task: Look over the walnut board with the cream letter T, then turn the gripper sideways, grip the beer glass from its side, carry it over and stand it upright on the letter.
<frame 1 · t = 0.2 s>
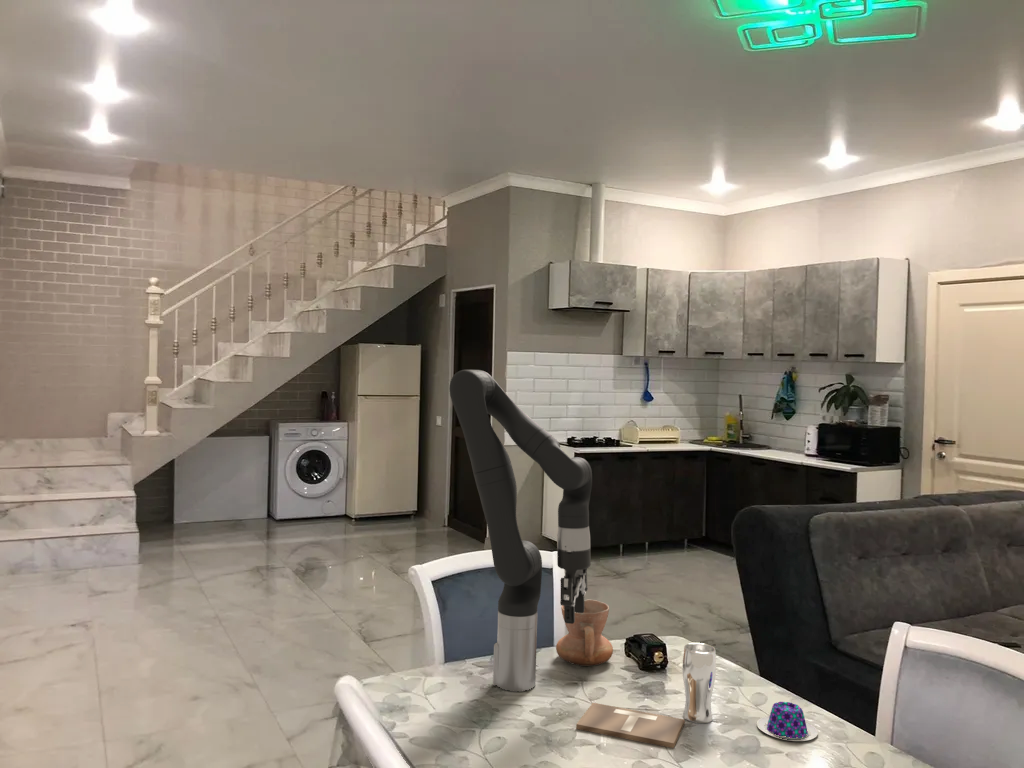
hand: (574, 617, 181), 18 cm above the table, tool pointing down, fingers open, 8 cm apart
beer glass: (697, 718, 171), on the table
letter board: (631, 726, 166), on the table
ceramic jug: (584, 662, 203), on the table
pudding: (786, 732, 166), on the table
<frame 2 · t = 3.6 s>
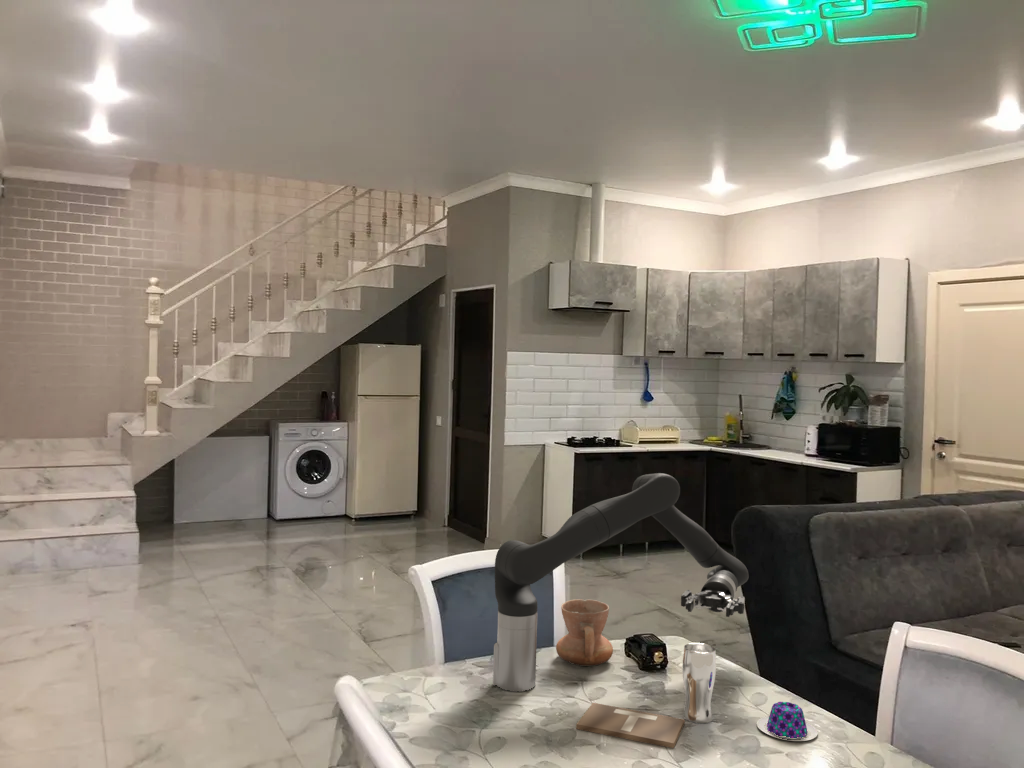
hand: (708, 610, 181), 20 cm above the table, tool horizontal, fingers open, 8 cm apart
nothing on the table moved.
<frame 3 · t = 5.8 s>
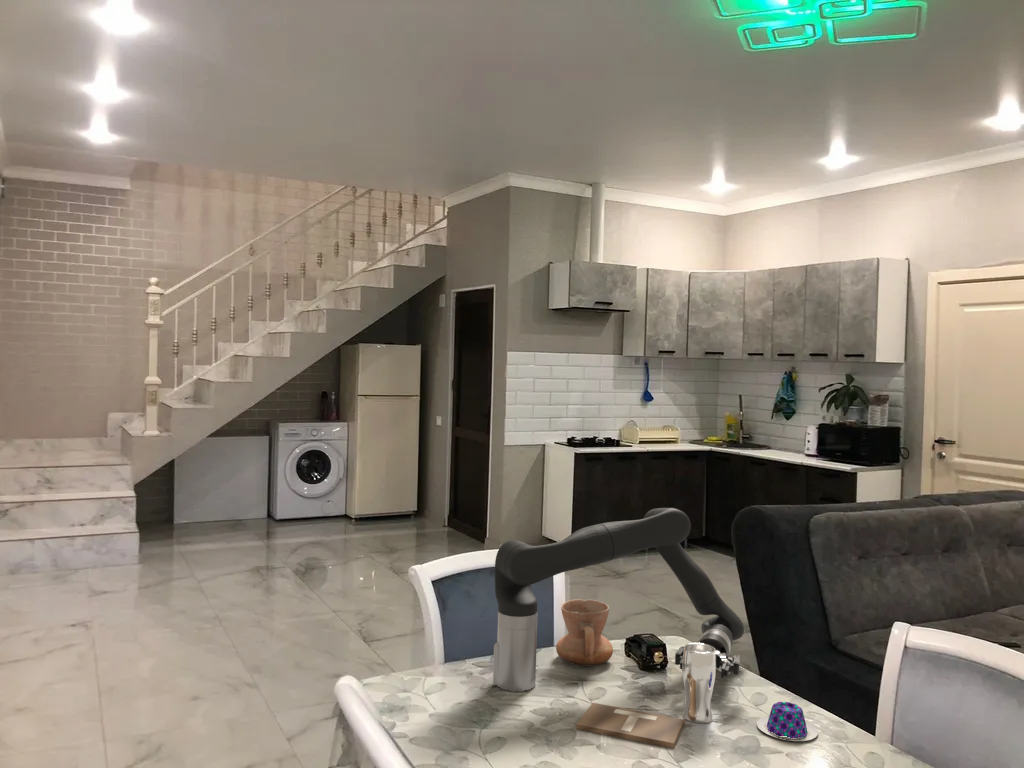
hand: (703, 670, 177), 8 cm above the table, tool horizontal, fingers open, 8 cm apart
nothing on the table moved.
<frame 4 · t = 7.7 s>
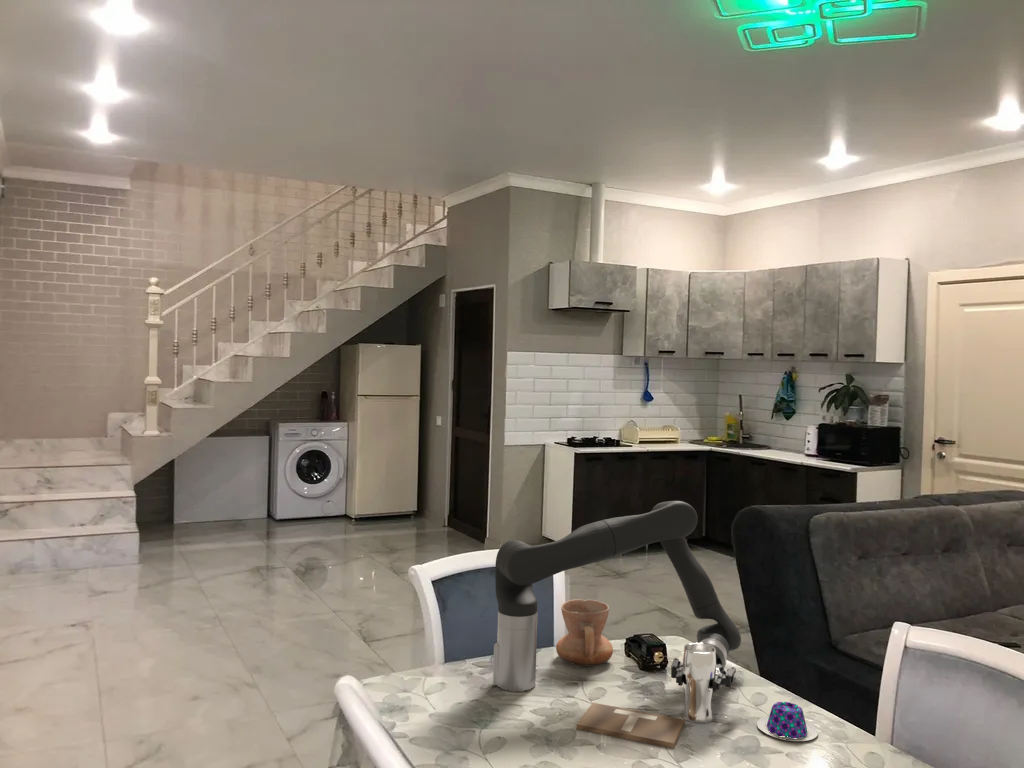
hand: (697, 684, 169), 8 cm above the table, tool horizontal, fingers closed on beer glass, 6 cm apart
beer glass: (697, 718, 171), on the table, touching gripper
everything else where it was.
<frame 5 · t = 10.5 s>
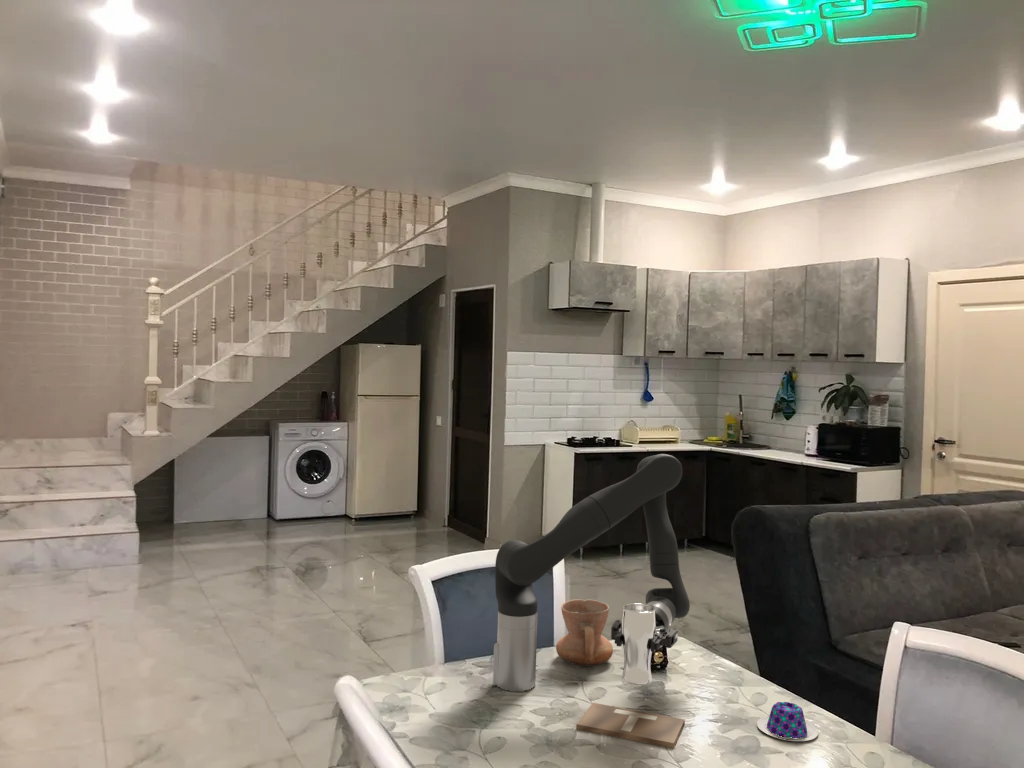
hand: (635, 644, 164), 18 cm above the table, tool horizontal, fingers closed on beer glass, 6 cm apart
beer glass: (636, 680, 166), point 9 cm above the table, touching gripper
everything else where it was.
when the fingers open (9 cm above the table, at t = 13.3 s): beer glass stays where it is, resting on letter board.
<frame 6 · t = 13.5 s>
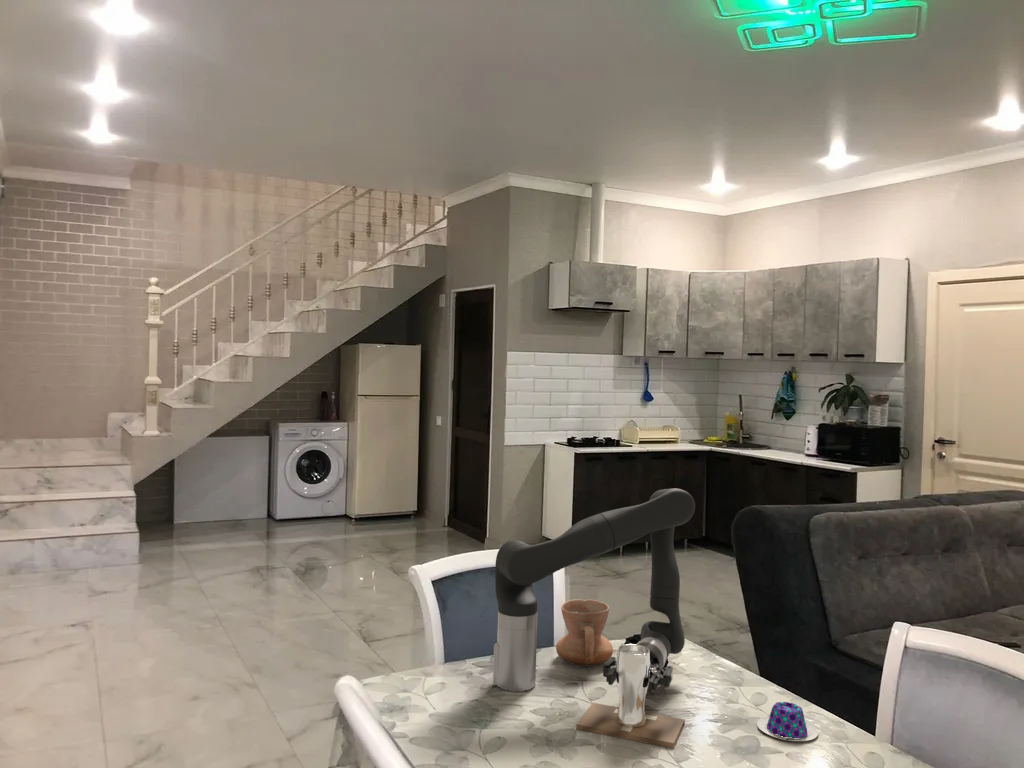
hand: (629, 683, 164), 10 cm above the table, tool horizontal, fingers open, 8 cm apart
beer glass: (631, 722, 166), point 1 cm above the table, touching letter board
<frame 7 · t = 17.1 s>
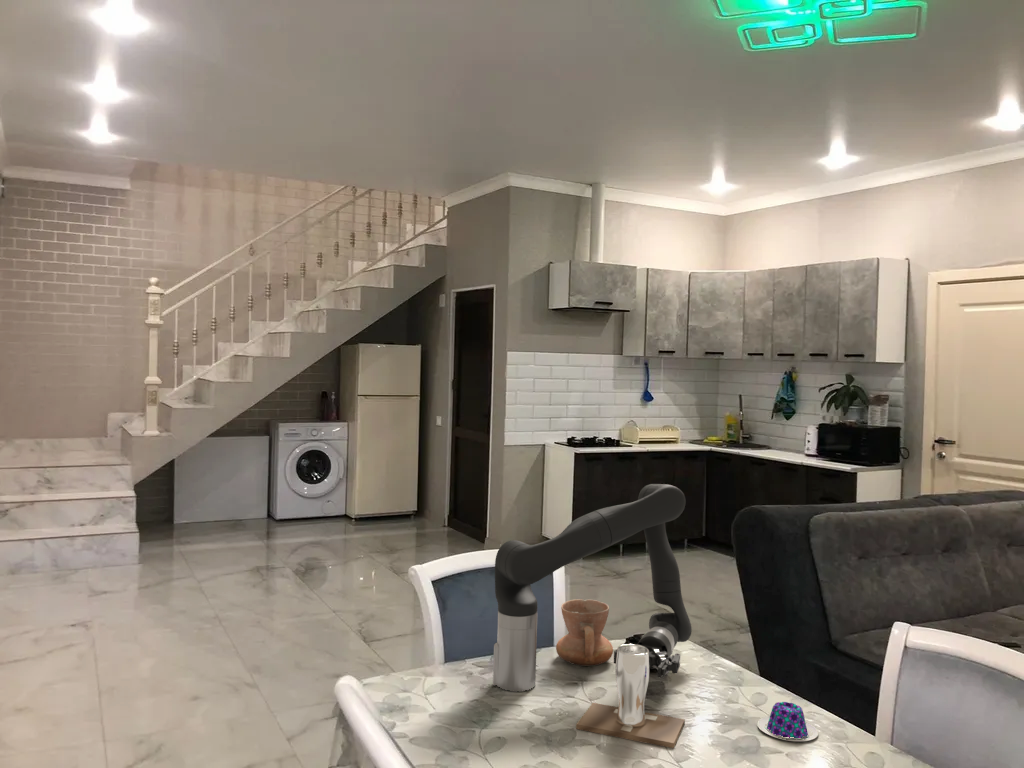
hand: (639, 669, 172), 10 cm above the table, tool horizontal, fingers open, 8 cm apart
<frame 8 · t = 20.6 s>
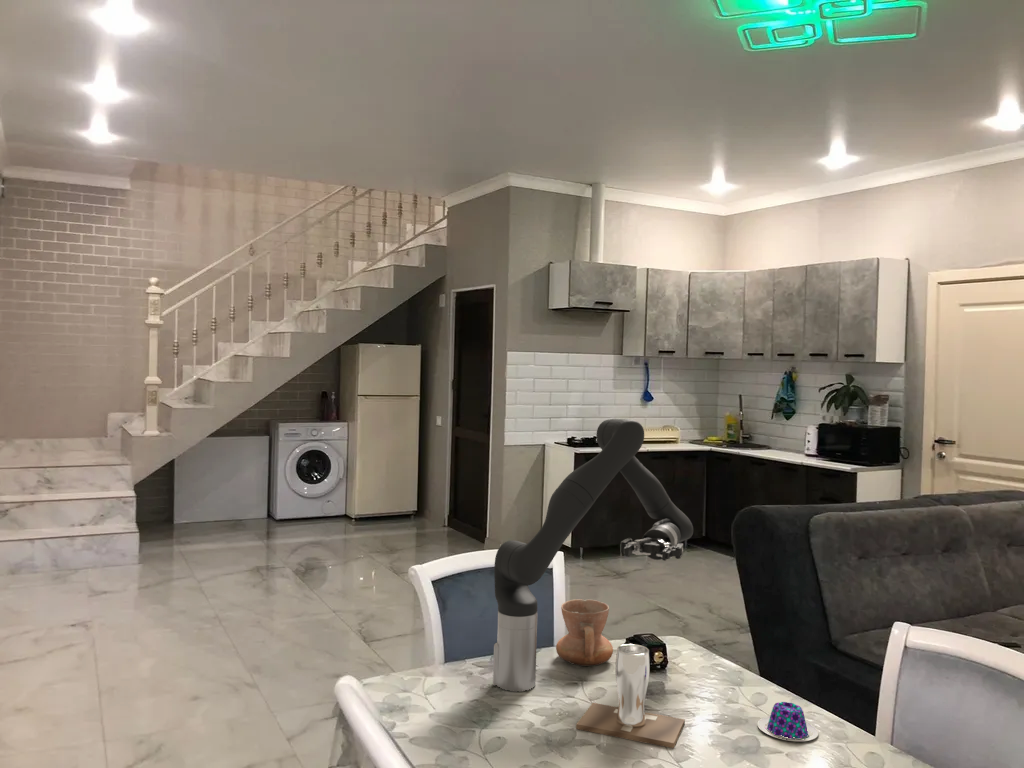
hand: (645, 554, 183), 32 cm above the table, tool horizontal, fingers open, 8 cm apart
at the end: beer glass 0.1 cm off-centre on the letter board, point 0.9 cm above the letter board's base; beer glass tilted 0°; the gripper is holding nothing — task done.
